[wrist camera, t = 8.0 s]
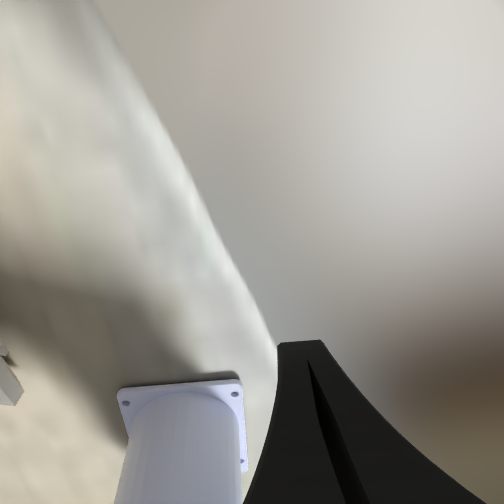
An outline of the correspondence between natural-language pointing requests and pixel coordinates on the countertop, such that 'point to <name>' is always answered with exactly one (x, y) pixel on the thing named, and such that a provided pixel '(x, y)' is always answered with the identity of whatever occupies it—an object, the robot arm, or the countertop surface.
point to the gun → (8, 381)
